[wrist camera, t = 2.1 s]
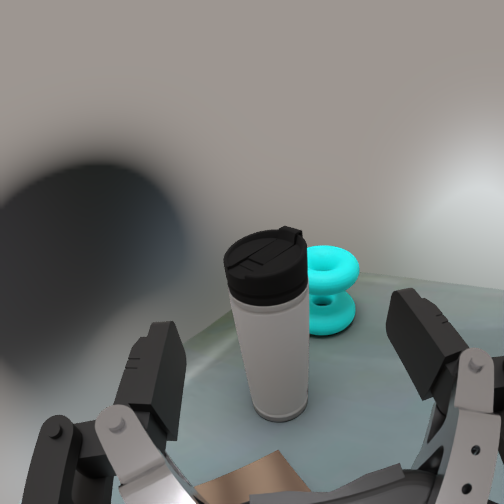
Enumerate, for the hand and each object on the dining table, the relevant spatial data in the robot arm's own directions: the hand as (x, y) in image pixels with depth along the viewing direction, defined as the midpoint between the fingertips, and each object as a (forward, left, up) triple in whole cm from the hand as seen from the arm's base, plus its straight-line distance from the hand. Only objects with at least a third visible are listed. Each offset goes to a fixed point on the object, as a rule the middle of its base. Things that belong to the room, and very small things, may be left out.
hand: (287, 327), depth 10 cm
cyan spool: (-18, -19, -22) cm, 34 cm away
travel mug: (-5, -10, -22) cm, 25 cm away
